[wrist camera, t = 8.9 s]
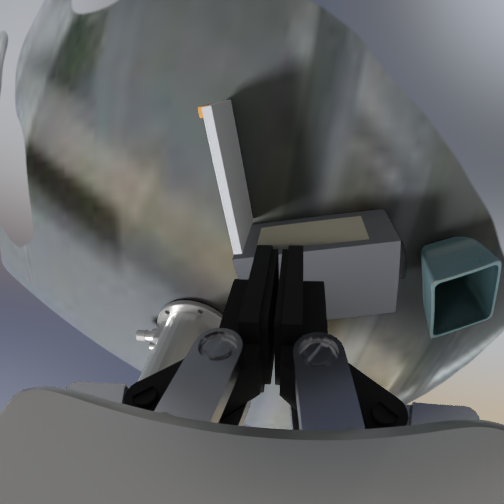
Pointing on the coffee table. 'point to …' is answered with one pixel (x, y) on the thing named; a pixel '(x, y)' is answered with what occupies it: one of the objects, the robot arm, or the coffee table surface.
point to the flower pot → (458, 284)
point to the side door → (229, 170)
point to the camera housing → (339, 258)
